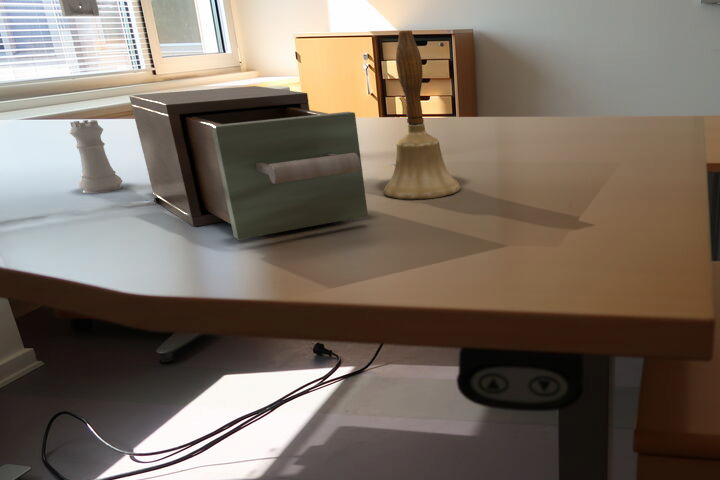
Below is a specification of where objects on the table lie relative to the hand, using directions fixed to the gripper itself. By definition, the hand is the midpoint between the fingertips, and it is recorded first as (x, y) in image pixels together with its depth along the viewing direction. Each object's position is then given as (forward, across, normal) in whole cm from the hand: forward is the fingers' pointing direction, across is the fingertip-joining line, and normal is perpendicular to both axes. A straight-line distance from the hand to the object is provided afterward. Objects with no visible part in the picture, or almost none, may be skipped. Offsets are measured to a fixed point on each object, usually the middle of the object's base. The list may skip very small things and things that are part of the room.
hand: (81, 16), depth 71 cm
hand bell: (+18, -26, +17) cm, 36 cm away
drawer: (+17, -9, +23) cm, 30 cm away
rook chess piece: (+18, +1, -6) cm, 20 cm away
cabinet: (+18, -9, +8) cm, 22 cm away
